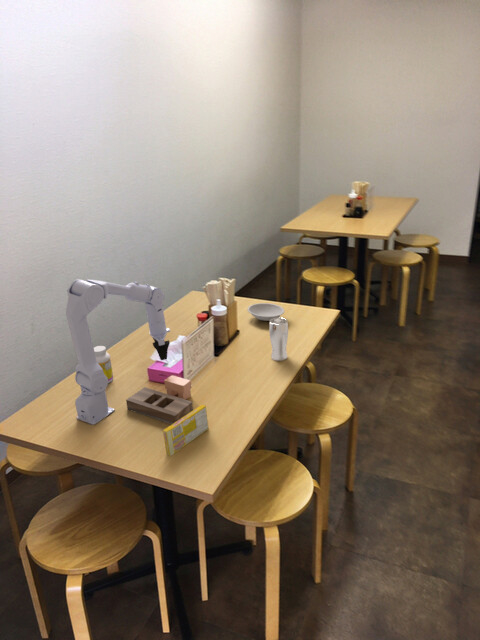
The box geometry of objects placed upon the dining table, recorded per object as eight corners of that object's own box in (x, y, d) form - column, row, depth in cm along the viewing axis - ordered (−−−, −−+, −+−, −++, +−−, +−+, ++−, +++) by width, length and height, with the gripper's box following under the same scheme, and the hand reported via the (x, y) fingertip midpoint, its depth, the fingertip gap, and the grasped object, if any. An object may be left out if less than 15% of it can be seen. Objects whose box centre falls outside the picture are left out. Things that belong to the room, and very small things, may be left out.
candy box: (204, 426, 164) (201, 403, 161) (209, 429, 163) (207, 405, 160) (165, 454, 153) (162, 429, 150) (170, 456, 152) (167, 432, 148)
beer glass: (288, 353, 207) (288, 317, 201) (288, 361, 200) (287, 324, 195) (270, 353, 208) (269, 317, 202) (269, 361, 201) (268, 324, 195)
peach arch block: (185, 401, 178) (183, 385, 176) (166, 395, 182) (164, 380, 180) (192, 396, 181) (190, 380, 179) (173, 390, 185) (171, 375, 183)
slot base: (175, 425, 165) (174, 415, 164) (127, 409, 175) (126, 399, 174) (193, 411, 172) (192, 401, 171) (145, 396, 182) (144, 387, 181)
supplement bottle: (90, 383, 193) (85, 350, 188) (103, 374, 198) (97, 343, 193) (105, 386, 190) (99, 354, 185) (117, 378, 195) (112, 346, 190)
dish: (240, 320, 239) (239, 309, 237) (262, 310, 248) (262, 300, 246) (269, 330, 227) (269, 319, 225) (291, 320, 236) (291, 309, 234)
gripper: (171, 326, 178) (176, 361, 184) (164, 309, 191) (170, 342, 197) (149, 330, 176) (156, 365, 182) (145, 313, 189) (151, 346, 195)
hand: (162, 354), depth 189 cm, fingers open, 7 cm apart
